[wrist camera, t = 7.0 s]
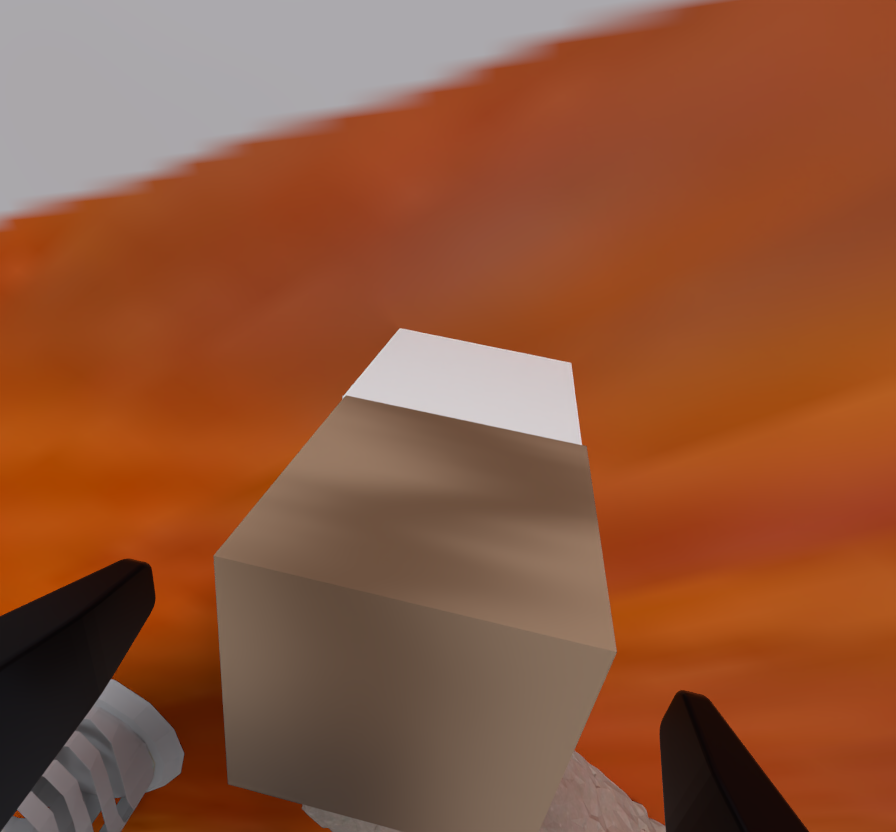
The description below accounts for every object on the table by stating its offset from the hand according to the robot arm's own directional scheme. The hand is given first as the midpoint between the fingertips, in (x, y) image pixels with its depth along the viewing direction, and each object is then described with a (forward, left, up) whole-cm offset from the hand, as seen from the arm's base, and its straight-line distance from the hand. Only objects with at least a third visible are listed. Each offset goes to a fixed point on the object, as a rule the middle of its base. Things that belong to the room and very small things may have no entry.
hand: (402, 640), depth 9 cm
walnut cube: (0, 0, -4) cm, 4 cm away
